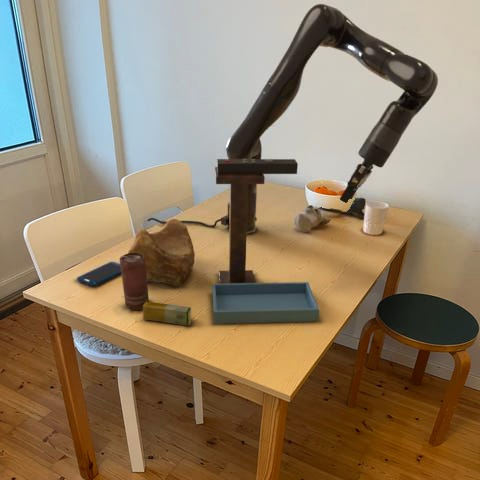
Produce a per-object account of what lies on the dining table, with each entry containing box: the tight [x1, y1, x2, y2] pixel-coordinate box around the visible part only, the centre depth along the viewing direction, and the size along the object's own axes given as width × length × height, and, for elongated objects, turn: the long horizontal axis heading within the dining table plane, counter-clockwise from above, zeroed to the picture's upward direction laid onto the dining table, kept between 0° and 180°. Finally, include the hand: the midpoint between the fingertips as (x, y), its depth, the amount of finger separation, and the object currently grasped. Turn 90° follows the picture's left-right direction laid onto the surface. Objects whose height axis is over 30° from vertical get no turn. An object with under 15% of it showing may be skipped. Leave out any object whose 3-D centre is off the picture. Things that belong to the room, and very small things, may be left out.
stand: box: [214, 166, 266, 284], centre depth 130 cm, size 12×10×32 cm
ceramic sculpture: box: [294, 204, 332, 233], centre depth 173 cm, size 11×9×15 cm
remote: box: [216, 158, 299, 175], centre depth 121 cm, size 20×4×3 cm, turn 95°
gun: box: [344, 197, 367, 220], centre depth 188 cm, size 4×20×10 cm, turn 55°
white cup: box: [362, 200, 390, 236], centre depth 171 cm, size 8×8×10 cm
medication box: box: [142, 301, 192, 326], centre depth 120 cm, size 12×3×4 cm, turn 80°
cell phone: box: [76, 261, 122, 288], centre depth 141 cm, size 7×14×1 cm, turn 146°
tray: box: [211, 281, 320, 325], centre depth 127 cm, size 27×15×4 cm, turn 95°
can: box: [119, 252, 150, 311], centre depth 124 cm, size 6×6×14 cm
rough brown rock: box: [127, 218, 196, 287], centre depth 137 cm, size 23×17×15 cm
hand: (345, 199), depth 131 cm, fingers open, 8 cm apart
